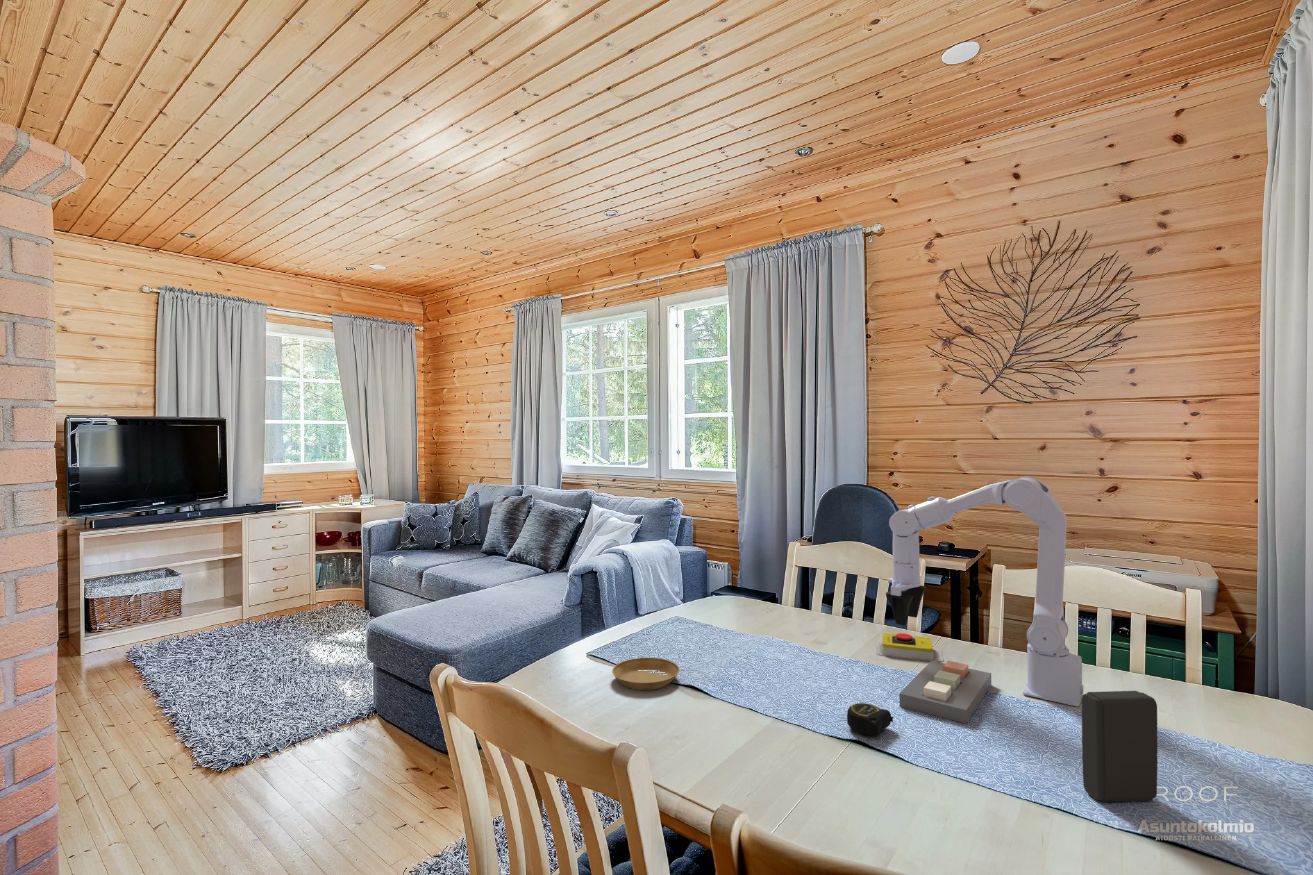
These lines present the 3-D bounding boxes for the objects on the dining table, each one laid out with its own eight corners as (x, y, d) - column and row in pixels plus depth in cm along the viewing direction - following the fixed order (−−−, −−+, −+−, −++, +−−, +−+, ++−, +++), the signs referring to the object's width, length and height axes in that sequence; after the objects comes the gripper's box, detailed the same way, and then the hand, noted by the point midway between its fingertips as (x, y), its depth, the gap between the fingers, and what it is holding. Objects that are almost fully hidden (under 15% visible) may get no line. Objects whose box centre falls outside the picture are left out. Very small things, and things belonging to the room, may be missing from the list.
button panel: (991, 684, 131) (991, 673, 131) (966, 723, 114) (966, 709, 114) (931, 671, 139) (931, 660, 139) (899, 706, 122) (899, 693, 121)
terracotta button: (968, 676, 132) (968, 664, 132) (963, 682, 129) (963, 670, 129) (948, 671, 135) (948, 660, 135) (943, 677, 131) (943, 665, 131)
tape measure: (876, 743, 107) (876, 722, 107) (840, 730, 112) (839, 709, 112) (893, 730, 112) (893, 709, 112) (858, 717, 117) (858, 698, 117)
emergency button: (876, 627, 158) (940, 633, 153) (876, 644, 158) (940, 651, 153) (875, 638, 150) (943, 645, 144) (875, 656, 150) (943, 664, 144)
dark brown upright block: (1139, 787, 93) (1138, 687, 93) (1161, 803, 89) (1161, 699, 89) (1079, 789, 93) (1078, 689, 93) (1099, 805, 89) (1098, 700, 89)
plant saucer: (603, 691, 131) (603, 679, 131) (623, 666, 145) (623, 654, 145) (671, 698, 127) (671, 685, 127) (685, 671, 142) (685, 659, 142)
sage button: (960, 687, 127) (960, 674, 127) (955, 693, 123) (955, 681, 123) (939, 682, 129) (939, 670, 129) (934, 688, 126) (933, 676, 126)
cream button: (951, 698, 121) (951, 685, 121) (945, 705, 118) (945, 692, 118) (929, 693, 124) (929, 680, 124) (923, 700, 121) (923, 687, 121)
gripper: (899, 554, 152) (899, 610, 152) (877, 564, 140) (877, 624, 141) (929, 558, 147) (930, 615, 147) (909, 568, 136) (909, 630, 136)
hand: (906, 620), depth 144 cm, fingers open, 7 cm apart
